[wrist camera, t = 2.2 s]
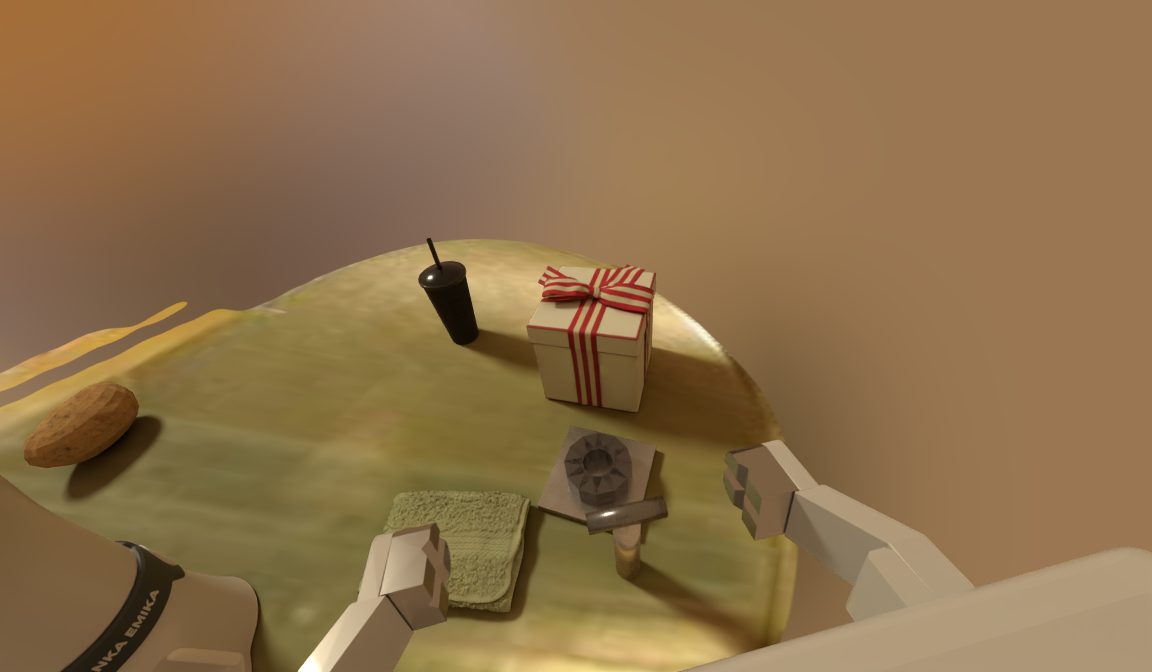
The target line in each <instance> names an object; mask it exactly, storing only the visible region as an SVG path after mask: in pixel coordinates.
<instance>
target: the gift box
mask: <svg viewBox="0 0 1152 672" xmlns="http://www.w3.org/2000/svg"><path fill="white" fill-rule="evenodd" d="M538 283H539V284H541V285H544V290H543V293H542V297H543V299H542V300H541V302H540V304H539V306H538V308H537V309H536V311H535V313H534V315H533V316H532V318H531V320H530V322H529V323H528V325H527V332H528V336H529V341H530V343H532V344H533V345H534V350H535V354H536V358H537V363H538V367H539V372H540V376H541V380H542V385H543V389H544V394H545V397H546V398H550V399H555V400H563V401H568V402H574V403H578V404H580V405H593V406H597V407H605V408H610V409H617V410H623V411H629V412H637V411H638V409H639V404H640V400H641V395H642V391H643V387H644V384H645V380H646V376H647V370H648V364H649V360H650V355H651V350H652V323H653V298H654V295H655V290H656V273H654V272H644V269H641V268H637V267H632V266H630V265H626V267H624V268H618V269H617V270H613V269H594V268H581V267H567V266H561V267H560V269H559V270H558V271H556V270H555V269H553V268H551V267H550V266H548V267H547V269H546V271H545V272H544V274H543V275H542V277H541V278H540V280H539V282H538Z"/></svg>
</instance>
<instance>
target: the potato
mask: <svg viewBox="0 0 1152 672" xmlns="http://www.w3.org/2000/svg"><path fill="white" fill-rule="evenodd" d="M138 408H139V405H138V402H137V400H136V398H135V396H134V394H133V392H131V391H130V390H128V389H127V388H125V387H123V386H120V385H118V384H115V383H111V382H101V383H96V384H92V385H90V386H88V387H86V388H84V389H83V390H81V391H80V392H79V393H77V394H76V395H75V396H73V397H72V398H71V399H69V400H68V401H67V402H65V403H64V404H62V405H61V406H59V407H57V408H56V409H54V410H53V411H52V412H50V413H49V414H48V415H47V416H46V417H45V418H44V419H43V420H42V422H41V423H40V424H39V426H38V427H37V428H36V429H35V430H34V431H33V432H32V433H31V434H30V435H29V437H28V438H27V439H26V441H25V444H24V459H25V460H26V461H27V462H28V463H29V465H32V466H38V467H44V468H50V467H58V466H66V465H72V464H76V463H80V462H84V461H86V460H88V459H91V458H93V457H95V456H97V455H98V454H100V453H101V452H103V451H104V450H106V449H107V448H108V447H110V446H111V445H112V444H113V443H114V442H116V441H117V440H118V439H119V438H120V437H121V436H122V435H123V434H124V433H125V432H126V431H127V430H128V429H129V427H130V426H131V424H132V423H133V421H134V420H135V418H136V416H137V414H138Z"/></svg>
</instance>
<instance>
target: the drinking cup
mask: <svg viewBox="0 0 1152 672" xmlns="http://www.w3.org/2000/svg"><path fill="white" fill-rule="evenodd" d="M427 242H428V245H429V248H430V250H431V253H432V255H433V258H434V261H435V263H436V264H434V265H432V266H430V267H428V268H427V269H425V270H424V271H423V272H422V273H421V274H420V276H419V279H418V281H419V284H420V286H421V287H422V288H424V290H425V291H426V293H427V295H428V297H429V299H430V300H431V302H432V304H433V306H434V308H435V309H436V311H437V313H438V315H439V317H440V318H441V320H442V322H443V324H444V325H445V327H446V329H447V331H448V333H449V334H450V336H451V338H452V340H453V341H454V342H455V343H456V344H460V345H464V344H468V343H471V342H472V341H474V340H475V339H476V338H477V336H478V328H477V324H476V319H475V315H474V310H473V306H472V302H471V297H470V293H469V288H468V284H467V279H466V268H465V266H464V265H463V264H461V263H459V262H455V261H446V262H441V263H440V261H439V259H438V256H437V253H436V251H435V248H434V245H433V243H432V240H431V238H428V239H427Z"/></svg>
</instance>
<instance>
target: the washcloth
mask: <svg viewBox="0 0 1152 672" xmlns="http://www.w3.org/2000/svg"><path fill="white" fill-rule="evenodd" d="M530 504H531V501H530V499H527V497H524V496H522V495H517V494H514V493H511V494H509V493H501V492H497V491H492V492H490V493H487V492H482V491H481V492H479V493H477V492H471V491H470V492H469V491H465V492H463V491H460V492H458V491H448V492H447V491H445V492H444V491H443V492H442V491H439V490H433V491H431V490H427V491H419V492H413V491H410V492H405V493H400V494H398V495H397V496H396V497H395V499H394V501H393V504H392V508H391V510H390V514H389V518H388V519H387V524H386V525H385V527H384V529H383V533H384V534H387V533H391V532H395V531H400V530H405V529H410V528H414V527H419V526H423V525H428V524H433V523H436V524H437V526H438V527H439V529H440V535H439V537H440V538H442V539H445V541H446V543H447V545H448V548H449V551H450V560H451V572H450V577H449V579H448V580H447V582H446V583H445V585H444V586H445V588H446V590H447V591H448V593H449V598H448V607H450V606H452V608H454V607H455V606H456V608H457V607H462V608H463V607H469V608H470V609H476V608H477V609H479V610H484V609H488V610H489V611H495V612H498V611H499V612H501V613H505V612H508V611H511V609H510V607H511V601H512V596H513V592H514V587H515V582H516V579H517V576H518V572H519V569H520V564H521V561H522V556H523V552H524V551H523V548H524V532H525V526H526V521H527V515H528V511H529V507H530ZM363 575H364V574H363ZM362 579H363V576H362ZM361 583H362V580H361V582H360V584H359V589H358V595H359V591H360V587H361Z"/></svg>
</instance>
